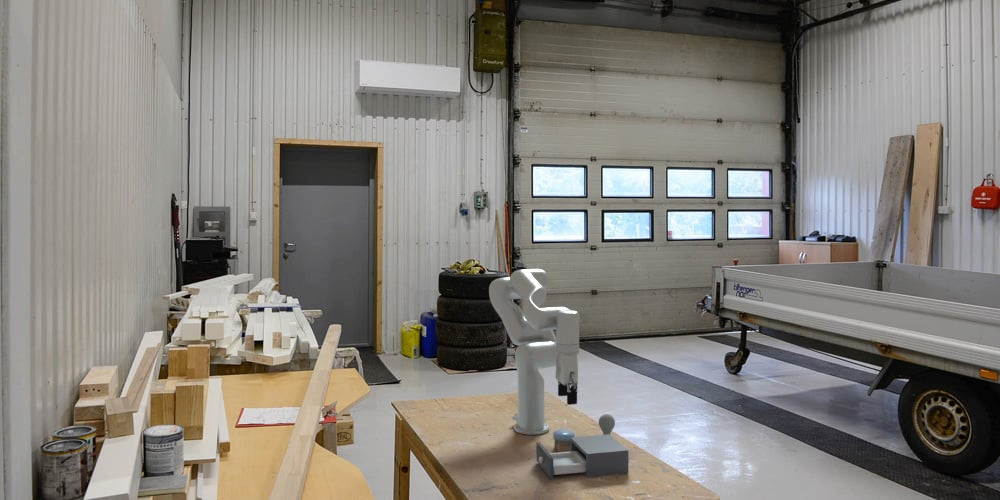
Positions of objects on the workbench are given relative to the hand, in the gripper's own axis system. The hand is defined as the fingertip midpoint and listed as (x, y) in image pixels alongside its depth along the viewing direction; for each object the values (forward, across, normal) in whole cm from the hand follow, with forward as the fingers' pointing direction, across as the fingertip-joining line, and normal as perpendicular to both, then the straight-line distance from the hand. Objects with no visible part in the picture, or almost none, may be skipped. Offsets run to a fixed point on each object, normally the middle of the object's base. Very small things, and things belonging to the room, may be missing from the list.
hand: (567, 399), depth 211 cm
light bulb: (+17, -3, +15) cm, 23 cm away
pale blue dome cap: (+13, 0, -1) cm, 13 cm away
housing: (+16, +16, +5) cm, 23 cm away
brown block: (+17, 0, -1) cm, 17 cm away
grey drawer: (+16, +16, -7) cm, 23 cm away
